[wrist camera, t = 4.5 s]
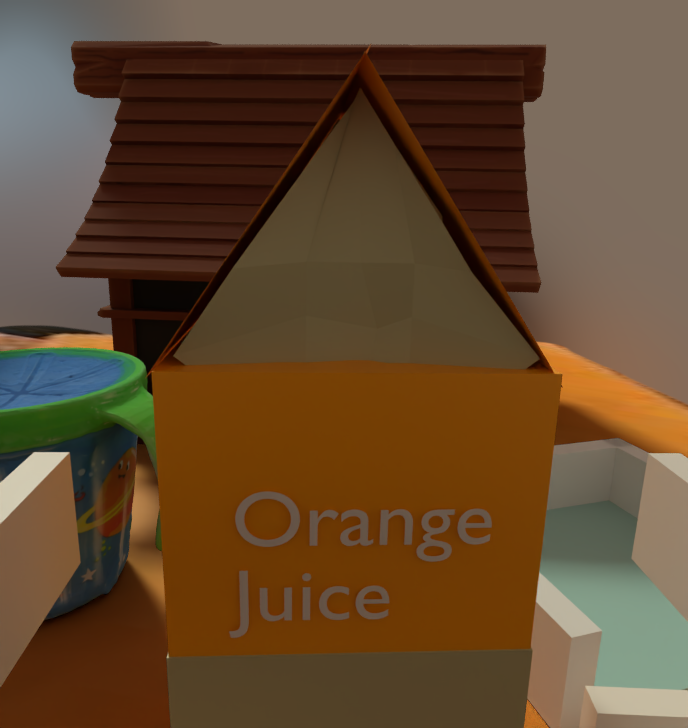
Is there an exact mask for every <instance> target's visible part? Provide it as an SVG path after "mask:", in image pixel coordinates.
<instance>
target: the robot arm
mask: <svg viewBox="0 0 688 728" xmlns="http://www.w3.org/2000/svg"><path fill="white" fill-rule="evenodd" d="M631 559H632V560H633V561H634V562H635V563H636V564H637V565H638V567H639V568H640V569H641V570H642V571H643V572H644V573H645V574H646V576H647V577H648V578H649V579H650V580H651V581H652V582H653V583H654V585H655V586H656V587H657V588H658V589H659V590H660V591H661V592H662V594H663V595H664V596H665V597H666V598H667V599H668V600H669V601H670V602H671V604H672V605H673V606H674V607H675V608H676V609H677V610H678V611H679V613H680V614H681V615H682V616H683V617H684V618H685V619H686V620H687V622H688V458H686V457H685V456H684V455H682V454H681V453H648V458H647V465H646V471H645V477H644V483H643V489H642V496H641V502H640V508H639V514H638V521H637V527H636V533H635V539H634V545H633V552H632V558H631ZM80 563H81V562H80V552H79V542H78V532H77V521H76V511H75V501H74V491H73V481H72V471H71V461H70V452H34V453H33V454H32V455H30V456H29V457H28V458H27V459H26V460H25V461H24V462H23V463H22V464H20V465H19V466H18V467H17V468H16V469H15V470H14V471H13V472H12V473H10V474H9V475H8V476H7V477H6V478H5V479H4V480H3V481H2V482H0V687H1V686H2V684H3V683H4V681H5V680H6V678H7V677H8V675H9V673H10V672H11V670H12V669H13V667H14V666H15V664H16V663H17V661H18V659H19V658H20V656H21V655H22V653H23V652H24V650H25V649H26V647H27V645H28V644H29V642H30V641H31V639H32V638H33V636H34V634H35V633H36V631H37V630H38V628H39V627H40V625H41V624H42V622H43V620H44V619H45V617H46V616H47V614H48V613H49V611H50V610H51V608H52V606H53V605H54V603H55V602H56V600H57V599H58V597H59V596H60V594H61V592H62V591H63V589H64V588H65V586H66V585H67V583H68V582H69V580H70V578H71V577H72V575H73V574H74V572H75V571H76V569H77V568H78V566H79V564H80Z"/></svg>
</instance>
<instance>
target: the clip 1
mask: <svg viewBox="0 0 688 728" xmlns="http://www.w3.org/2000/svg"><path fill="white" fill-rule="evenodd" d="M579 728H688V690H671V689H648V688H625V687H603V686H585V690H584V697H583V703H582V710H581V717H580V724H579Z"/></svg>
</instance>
